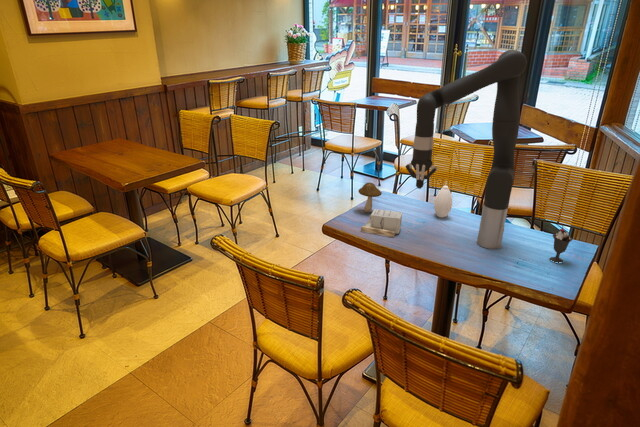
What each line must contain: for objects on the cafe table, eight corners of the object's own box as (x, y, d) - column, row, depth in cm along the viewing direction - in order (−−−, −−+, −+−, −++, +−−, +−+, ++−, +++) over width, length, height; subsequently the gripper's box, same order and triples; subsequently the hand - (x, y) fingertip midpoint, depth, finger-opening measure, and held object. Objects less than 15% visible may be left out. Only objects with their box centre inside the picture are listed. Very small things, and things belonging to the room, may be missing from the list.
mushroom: (375, 218, 201) (377, 188, 194) (353, 213, 206) (355, 183, 200) (383, 211, 208) (385, 182, 202) (362, 206, 213) (363, 178, 207)
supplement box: (398, 234, 184) (369, 230, 188) (401, 227, 191) (372, 223, 194) (400, 218, 181) (370, 214, 185) (402, 211, 188) (373, 208, 191)
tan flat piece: (401, 224, 194) (401, 220, 193) (393, 237, 183) (394, 232, 182) (370, 219, 199) (370, 214, 199) (361, 231, 188) (361, 226, 187)
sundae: (549, 254, 170) (557, 220, 164) (567, 260, 167) (577, 225, 161) (544, 261, 166) (553, 225, 160) (563, 266, 162) (573, 231, 156)
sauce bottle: (443, 221, 198) (448, 185, 191) (429, 216, 203) (434, 180, 196) (453, 217, 202) (458, 181, 195) (439, 212, 208) (444, 176, 201)
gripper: (441, 146, 171) (437, 187, 178) (408, 143, 176) (405, 183, 183) (438, 150, 165) (434, 193, 172) (404, 147, 169) (401, 188, 176)
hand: (419, 187), depth 177 cm, fingers closed
